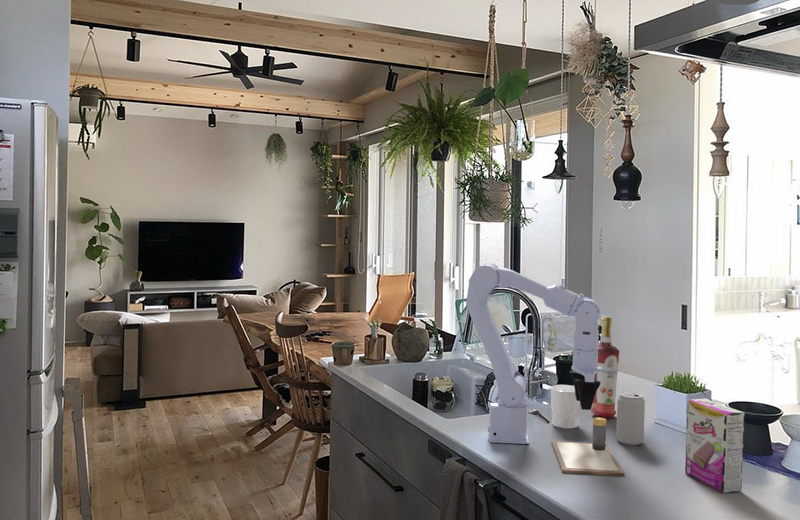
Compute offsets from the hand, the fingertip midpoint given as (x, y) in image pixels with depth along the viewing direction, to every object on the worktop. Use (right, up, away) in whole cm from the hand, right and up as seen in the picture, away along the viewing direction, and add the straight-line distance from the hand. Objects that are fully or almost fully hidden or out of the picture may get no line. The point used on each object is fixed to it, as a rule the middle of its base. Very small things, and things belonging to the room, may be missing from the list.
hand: (583, 404), depth 157 cm
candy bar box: (+21, -12, -21) cm, 32 cm away
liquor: (+13, -9, +26) cm, 31 cm away
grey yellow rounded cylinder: (+3, -10, -3) cm, 10 cm away
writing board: (-2, -11, -8) cm, 13 cm away
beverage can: (+13, -10, +4) cm, 17 cm away
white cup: (0, -10, +17) cm, 20 cm away
